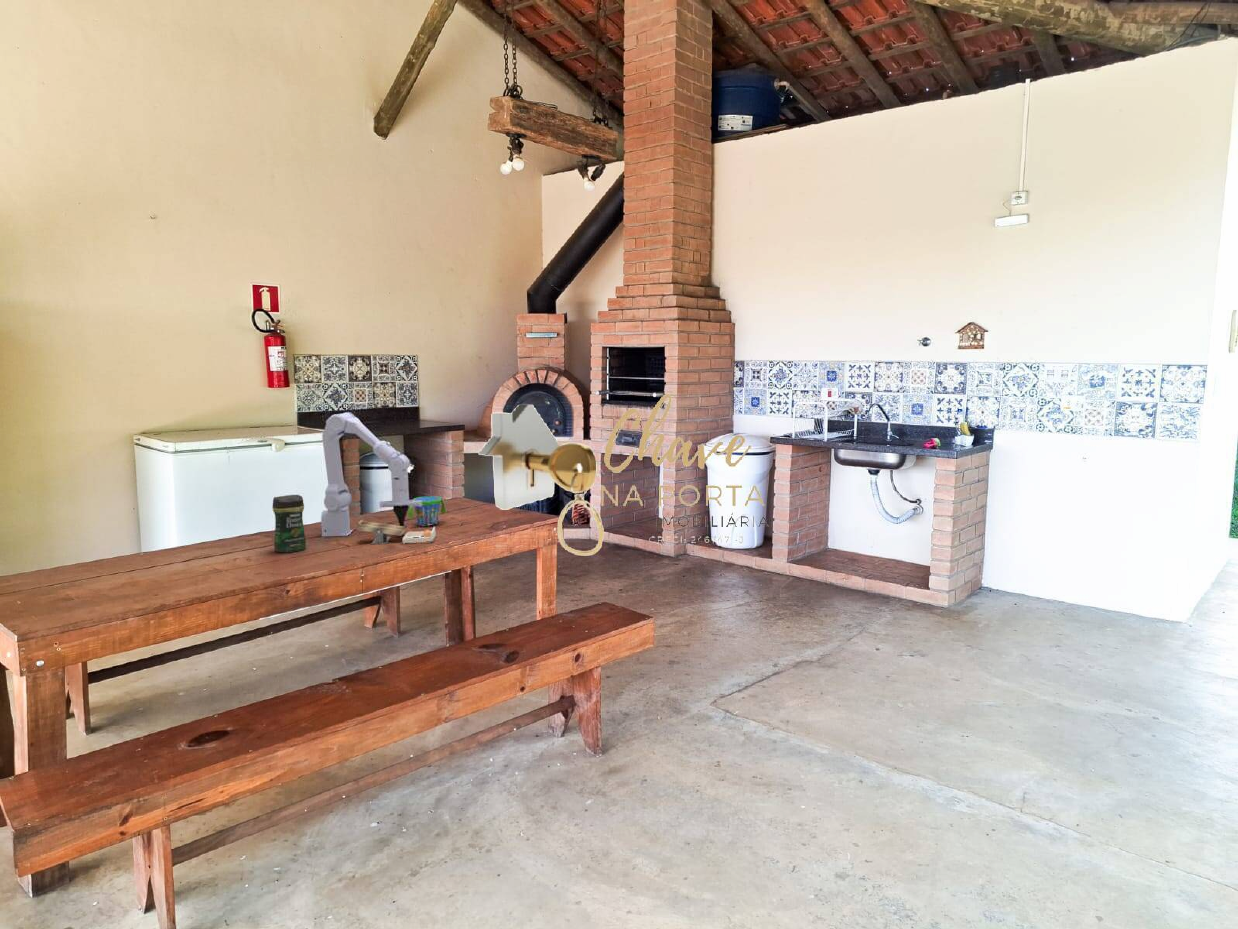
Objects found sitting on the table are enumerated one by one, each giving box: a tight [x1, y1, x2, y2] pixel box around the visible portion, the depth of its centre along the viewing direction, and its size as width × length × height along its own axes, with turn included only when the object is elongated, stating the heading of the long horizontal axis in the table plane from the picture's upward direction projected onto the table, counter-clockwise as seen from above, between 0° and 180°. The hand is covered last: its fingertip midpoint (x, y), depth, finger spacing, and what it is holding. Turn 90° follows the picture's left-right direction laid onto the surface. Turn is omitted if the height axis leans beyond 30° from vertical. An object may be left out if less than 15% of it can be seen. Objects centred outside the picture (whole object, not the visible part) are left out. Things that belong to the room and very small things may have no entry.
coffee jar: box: [271, 494, 307, 553], centre depth 268 cm, size 10×8×19 cm
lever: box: [356, 519, 408, 537], centre depth 284 cm, size 15×13×2 cm
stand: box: [371, 529, 392, 545], centre depth 281 cm, size 5×9×5 cm, turn 7°
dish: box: [402, 526, 436, 545], centre depth 282 cm, size 10×10×4 cm
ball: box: [423, 529, 432, 537], centre depth 283 cm, size 3×3×3 cm
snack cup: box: [408, 496, 446, 525], centre depth 306 cm, size 16×10×10 cm
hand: (401, 526), depth 289 cm, fingers closed, pressing on lever
